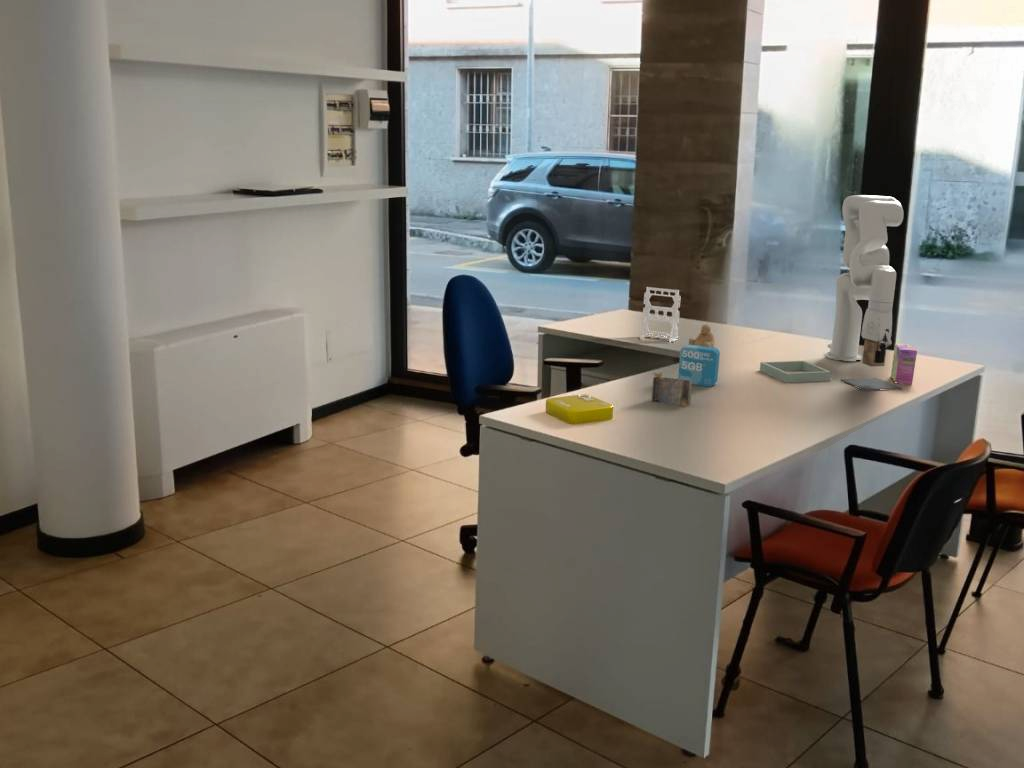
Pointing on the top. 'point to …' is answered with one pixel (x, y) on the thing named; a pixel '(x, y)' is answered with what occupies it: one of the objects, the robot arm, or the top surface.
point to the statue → (704, 338)
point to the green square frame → (810, 375)
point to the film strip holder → (665, 309)
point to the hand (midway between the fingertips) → (873, 360)
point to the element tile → (579, 409)
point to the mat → (870, 383)
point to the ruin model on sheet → (671, 390)
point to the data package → (699, 365)
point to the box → (903, 363)
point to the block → (871, 353)
